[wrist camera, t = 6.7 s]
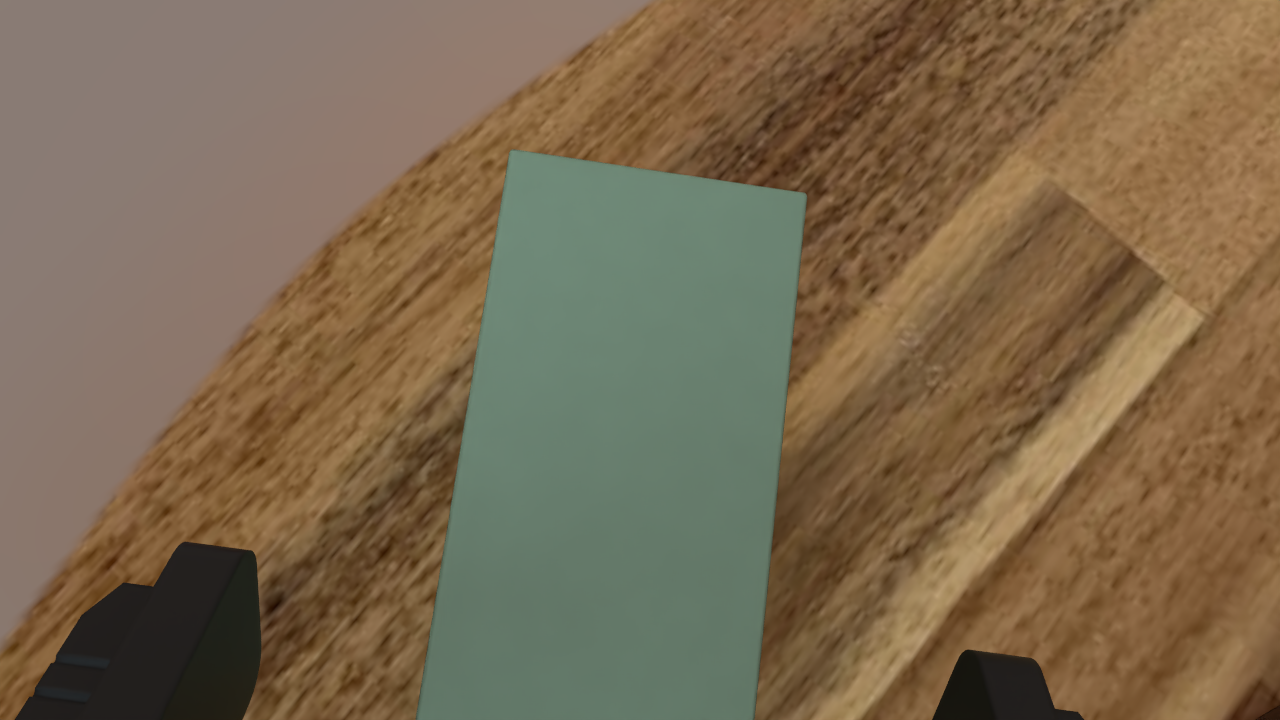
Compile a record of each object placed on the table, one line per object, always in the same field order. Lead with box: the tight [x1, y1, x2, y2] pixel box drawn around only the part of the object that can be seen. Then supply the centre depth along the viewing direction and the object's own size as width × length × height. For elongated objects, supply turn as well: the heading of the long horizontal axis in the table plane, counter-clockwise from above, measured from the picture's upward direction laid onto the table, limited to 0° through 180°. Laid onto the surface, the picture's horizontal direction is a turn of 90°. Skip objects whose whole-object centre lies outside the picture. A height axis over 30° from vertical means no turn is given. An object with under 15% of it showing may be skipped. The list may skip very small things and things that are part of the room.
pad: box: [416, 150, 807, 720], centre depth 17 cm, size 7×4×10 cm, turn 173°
